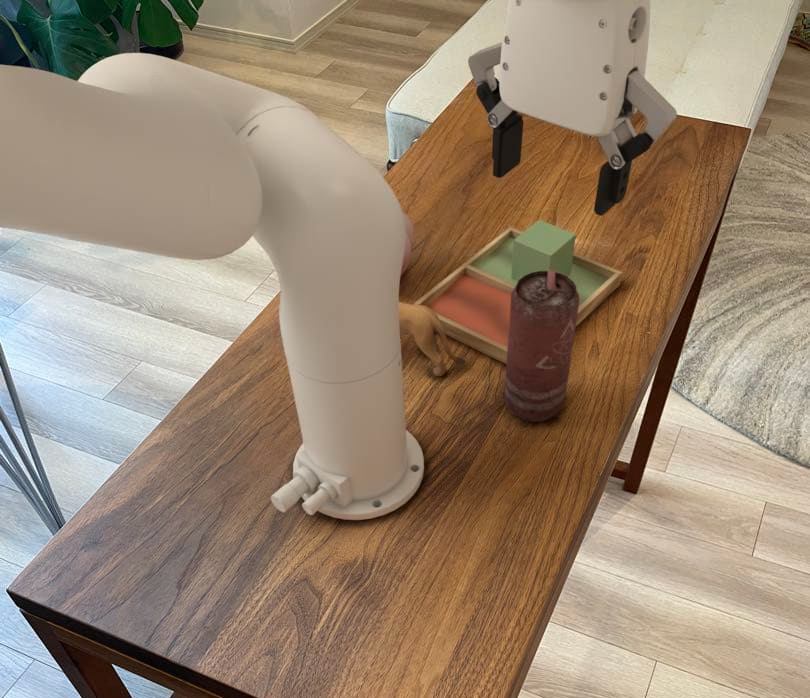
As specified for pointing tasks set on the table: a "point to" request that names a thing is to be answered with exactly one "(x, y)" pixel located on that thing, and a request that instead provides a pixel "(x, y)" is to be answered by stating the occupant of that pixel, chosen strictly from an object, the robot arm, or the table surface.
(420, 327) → the lion figurine
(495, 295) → the sorting tray
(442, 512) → the table surface
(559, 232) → the green block
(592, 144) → the table surface
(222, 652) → the table surface
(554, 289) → the can
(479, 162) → the table surface
